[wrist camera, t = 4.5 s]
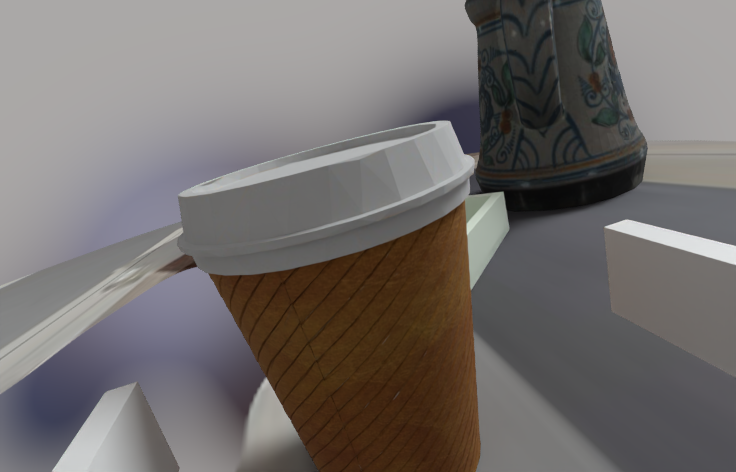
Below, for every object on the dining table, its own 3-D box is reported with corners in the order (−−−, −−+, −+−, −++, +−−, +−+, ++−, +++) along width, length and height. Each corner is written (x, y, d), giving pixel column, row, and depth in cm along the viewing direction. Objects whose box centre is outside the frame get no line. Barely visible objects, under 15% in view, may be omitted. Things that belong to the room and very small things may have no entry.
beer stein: (590, 160, 53) (568, -61, 46) (720, 184, 34) (717, -181, 27) (463, 193, 53) (423, -21, 46) (524, 234, 35) (471, -112, 28)
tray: (265, 312, 33) (251, 272, 32) (363, 238, 45) (355, 208, 44) (450, 323, 25) (438, 270, 24) (509, 229, 37) (503, 191, 36)
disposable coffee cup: (287, 635, 11) (102, 230, 8) (283, 414, 21) (195, 180, 17) (590, 505, 13) (538, 108, 9) (460, 350, 22) (410, 121, 18)
